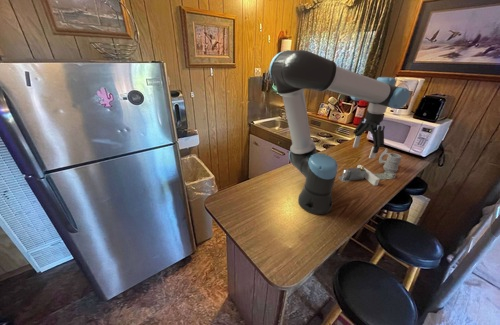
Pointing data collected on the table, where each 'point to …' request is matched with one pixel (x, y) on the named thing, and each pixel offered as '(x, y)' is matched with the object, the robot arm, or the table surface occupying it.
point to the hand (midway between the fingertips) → (362, 152)
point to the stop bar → (356, 173)
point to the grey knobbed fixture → (344, 176)
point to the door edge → (370, 177)
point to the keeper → (385, 175)
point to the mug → (390, 160)
